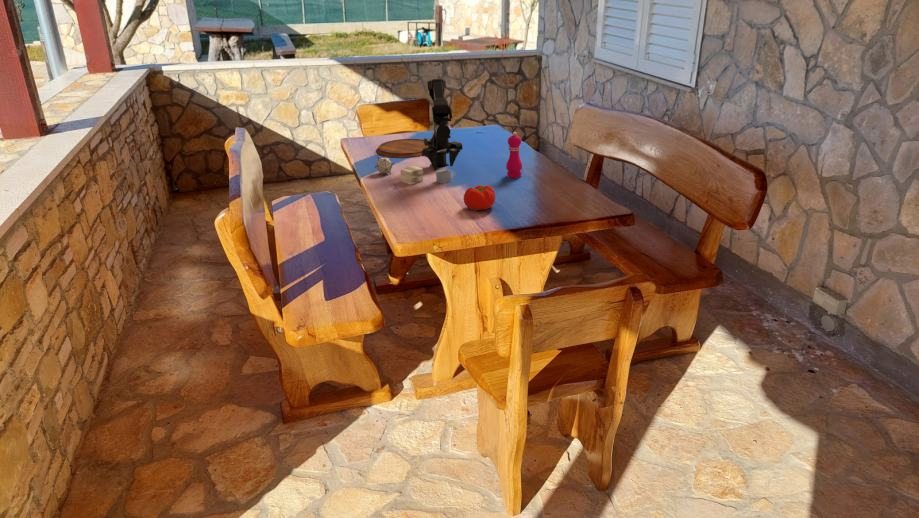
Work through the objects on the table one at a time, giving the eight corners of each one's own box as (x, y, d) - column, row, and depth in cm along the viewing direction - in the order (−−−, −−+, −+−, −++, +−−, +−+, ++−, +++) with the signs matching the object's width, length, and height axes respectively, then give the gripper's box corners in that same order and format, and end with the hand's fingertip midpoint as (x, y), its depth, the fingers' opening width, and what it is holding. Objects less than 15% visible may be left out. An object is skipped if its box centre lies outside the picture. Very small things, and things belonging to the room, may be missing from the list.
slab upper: (413, 172, 284) (412, 165, 282) (423, 175, 279) (422, 168, 278) (401, 175, 279) (400, 168, 278) (410, 178, 275) (410, 172, 273)
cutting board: (403, 140, 350) (403, 135, 349) (450, 147, 333) (449, 142, 332) (363, 153, 327) (363, 148, 326) (411, 162, 309) (410, 157, 308)
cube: (444, 179, 282) (443, 169, 280) (450, 181, 279) (450, 171, 277) (436, 181, 279) (436, 171, 277) (443, 183, 276) (442, 173, 274)
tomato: (472, 216, 239) (472, 194, 235) (459, 206, 249) (458, 185, 246) (502, 210, 243) (502, 189, 240) (488, 201, 254) (488, 180, 250)
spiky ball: (388, 182, 292) (389, 169, 283) (371, 175, 292) (372, 162, 283) (395, 168, 296) (397, 155, 288) (379, 161, 296) (380, 148, 288)
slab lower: (413, 178, 285) (413, 172, 284) (423, 181, 280) (422, 175, 279) (400, 181, 281) (400, 175, 279) (410, 185, 276) (410, 178, 275)
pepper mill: (524, 174, 285) (525, 130, 276) (518, 179, 279) (519, 134, 270) (509, 173, 288) (509, 129, 279) (503, 177, 282) (503, 133, 273)
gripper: (446, 126, 281) (447, 160, 288) (413, 133, 270) (415, 169, 277) (462, 130, 274) (463, 165, 280) (429, 138, 263) (430, 174, 269)
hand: (443, 168), depth 277 cm, fingers open, 9 cm apart
